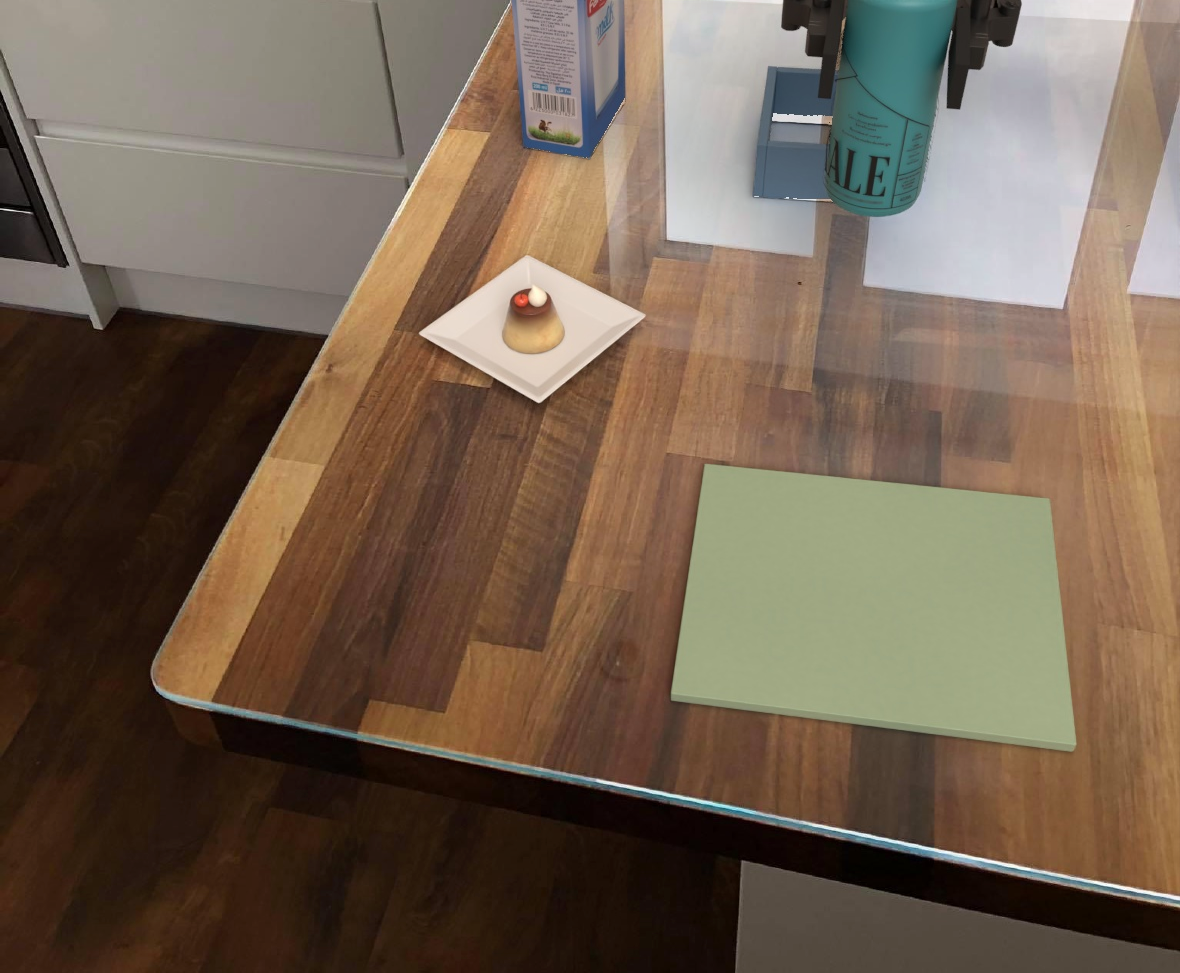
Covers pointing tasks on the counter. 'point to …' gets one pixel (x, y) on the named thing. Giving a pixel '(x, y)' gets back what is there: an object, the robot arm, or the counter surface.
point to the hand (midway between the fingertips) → (891, 81)
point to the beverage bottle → (886, 103)
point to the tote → (791, 163)
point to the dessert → (532, 327)
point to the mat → (876, 607)
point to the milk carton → (569, 71)
